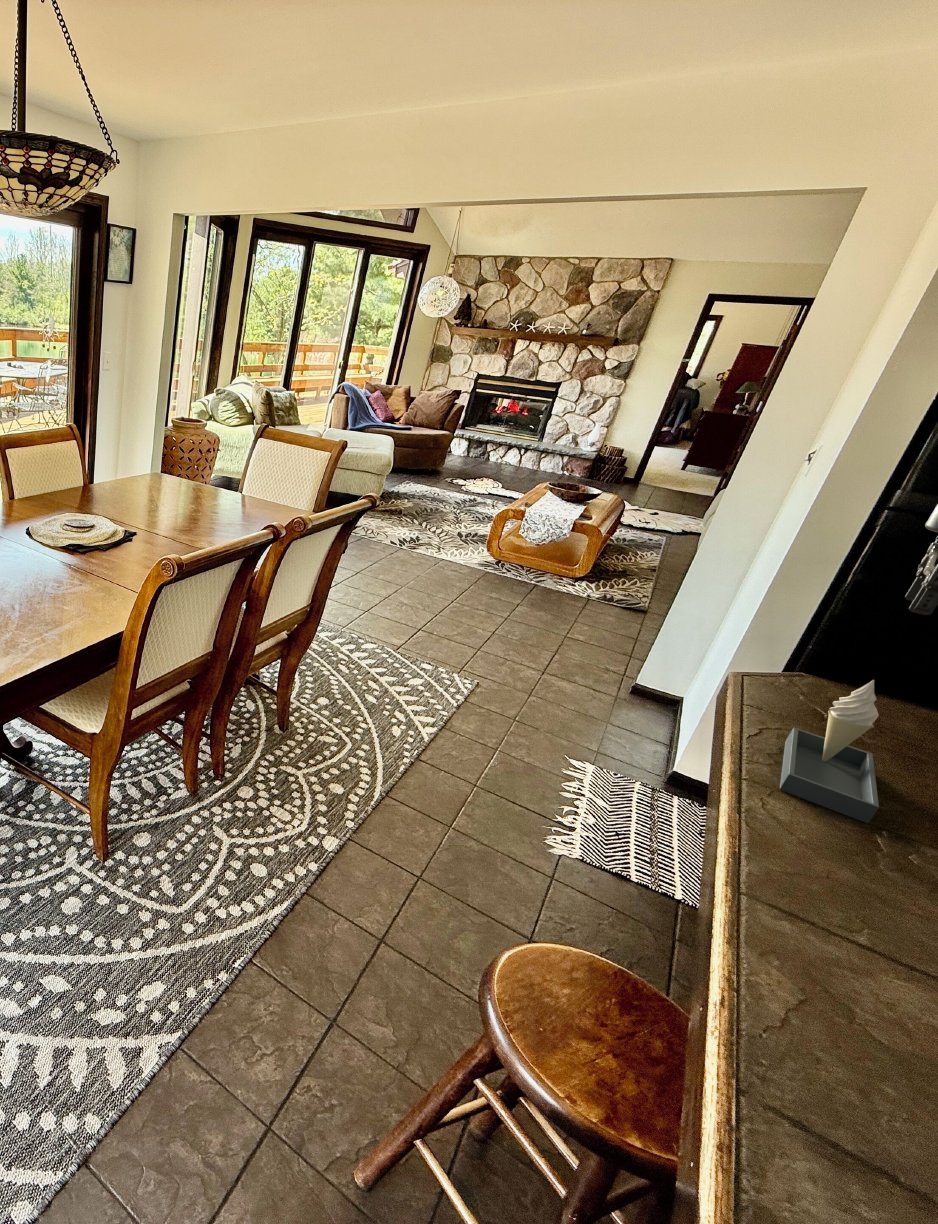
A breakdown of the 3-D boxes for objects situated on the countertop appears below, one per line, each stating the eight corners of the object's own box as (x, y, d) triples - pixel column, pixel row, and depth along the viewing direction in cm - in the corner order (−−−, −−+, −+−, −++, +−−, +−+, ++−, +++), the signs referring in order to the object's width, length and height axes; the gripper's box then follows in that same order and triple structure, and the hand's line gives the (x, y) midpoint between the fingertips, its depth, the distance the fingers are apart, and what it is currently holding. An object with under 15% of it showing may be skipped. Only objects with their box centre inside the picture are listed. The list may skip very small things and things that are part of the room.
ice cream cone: (815, 749, 105) (864, 671, 99) (854, 768, 101) (907, 687, 95) (794, 752, 104) (842, 672, 98) (832, 771, 100) (885, 689, 94)
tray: (785, 741, 108) (793, 727, 107) (862, 768, 102) (872, 753, 101) (779, 789, 95) (788, 773, 94) (868, 823, 89) (879, 807, 88)
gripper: (1034, 515, 83) (959, 626, 90) (1015, 503, 92) (948, 605, 99) (947, 502, 88) (882, 609, 95) (937, 492, 97) (878, 590, 104)
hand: (916, 607), depth 97 cm, fingers open, 8 cm apart
